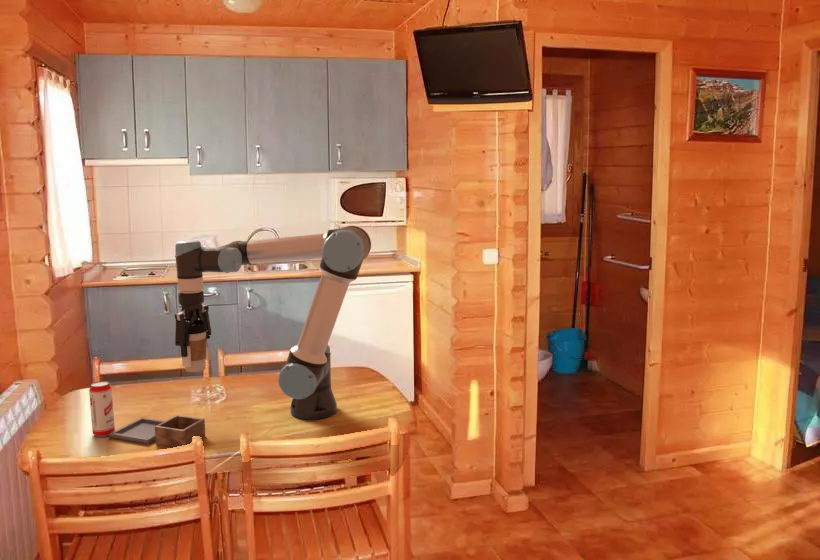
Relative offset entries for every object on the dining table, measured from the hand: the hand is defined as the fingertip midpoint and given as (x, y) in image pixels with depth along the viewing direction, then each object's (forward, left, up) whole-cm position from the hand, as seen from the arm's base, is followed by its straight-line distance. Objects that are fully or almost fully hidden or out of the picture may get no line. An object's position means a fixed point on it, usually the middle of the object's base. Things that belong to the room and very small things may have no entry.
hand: (195, 362), depth 227 cm
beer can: (+21, +18, -20) cm, 34 cm away
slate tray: (+9, +14, -20) cm, 26 cm away
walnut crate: (-5, +15, -20) cm, 25 cm away
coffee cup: (0, 0, -2) cm, 2 cm away
